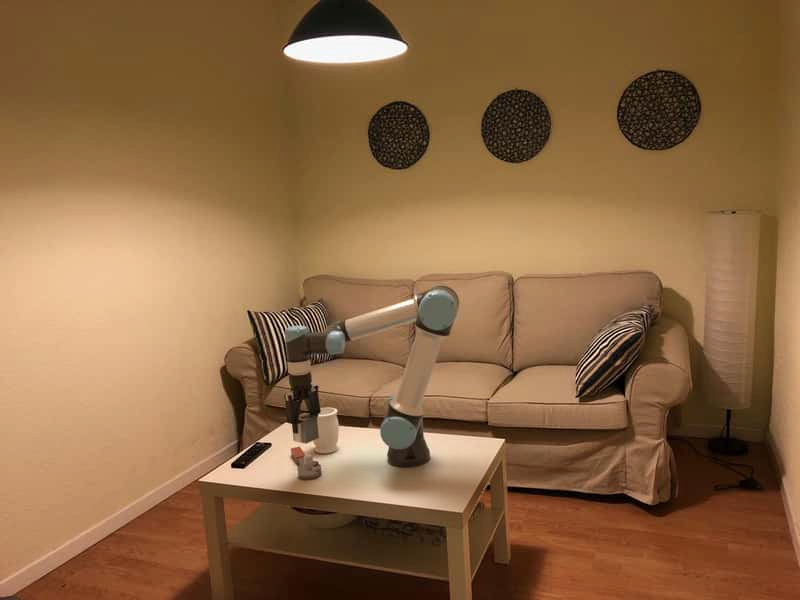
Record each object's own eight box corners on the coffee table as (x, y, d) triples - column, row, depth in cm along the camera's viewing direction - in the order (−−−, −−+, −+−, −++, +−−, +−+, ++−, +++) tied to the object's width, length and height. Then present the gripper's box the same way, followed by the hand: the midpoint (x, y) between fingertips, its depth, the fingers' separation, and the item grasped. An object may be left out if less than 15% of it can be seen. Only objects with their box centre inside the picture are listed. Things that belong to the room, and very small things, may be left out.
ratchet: (324, 477, 233) (322, 457, 232) (301, 482, 230) (299, 462, 229) (306, 452, 257) (304, 434, 256) (285, 456, 254) (283, 438, 253)
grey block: (318, 438, 233) (316, 414, 232) (305, 443, 229) (303, 419, 227) (306, 435, 237) (304, 412, 236) (293, 440, 233) (291, 417, 231)
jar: (343, 444, 262) (339, 406, 260) (337, 454, 252) (334, 415, 250) (315, 445, 263) (312, 407, 261) (309, 455, 253) (305, 416, 251)
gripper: (312, 364, 239) (318, 428, 243) (270, 378, 224) (277, 445, 228) (327, 366, 234) (333, 431, 238) (285, 380, 220) (292, 449, 223)
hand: (305, 438), depth 233 cm, fingers closed on grey block, 6 cm apart
